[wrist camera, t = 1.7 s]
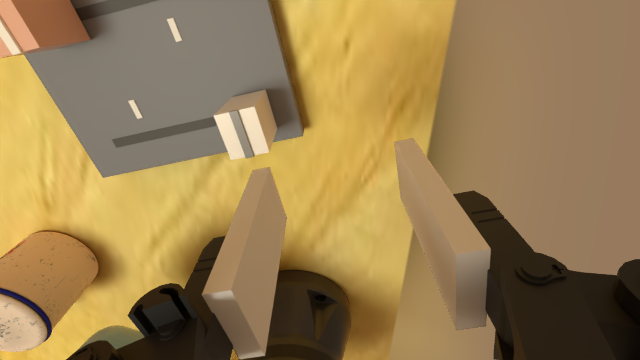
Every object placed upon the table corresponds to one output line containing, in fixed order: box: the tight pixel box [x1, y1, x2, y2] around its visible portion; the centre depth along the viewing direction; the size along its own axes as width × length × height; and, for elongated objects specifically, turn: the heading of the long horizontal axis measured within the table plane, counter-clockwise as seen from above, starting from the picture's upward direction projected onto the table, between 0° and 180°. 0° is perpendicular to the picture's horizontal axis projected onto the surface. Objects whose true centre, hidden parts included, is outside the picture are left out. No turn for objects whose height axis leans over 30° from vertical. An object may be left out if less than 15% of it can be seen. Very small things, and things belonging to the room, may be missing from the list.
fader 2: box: [214, 89, 277, 160], centre depth 24 cm, size 4×3×5 cm
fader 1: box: [0, 0, 91, 58], centre depth 21 cm, size 4×3×5 cm
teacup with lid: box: [0, 232, 98, 352], centre depth 34 cm, size 12×9×12 cm
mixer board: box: [24, 0, 304, 178], centre depth 26 cm, size 16×20×2 cm
